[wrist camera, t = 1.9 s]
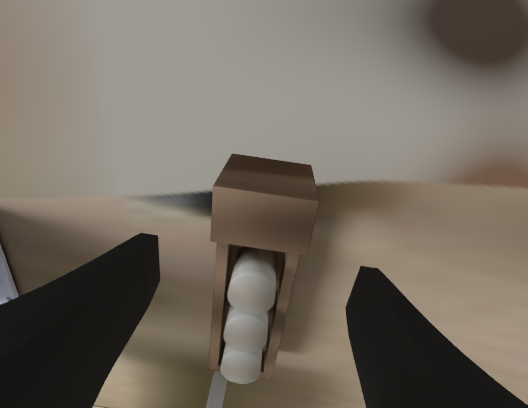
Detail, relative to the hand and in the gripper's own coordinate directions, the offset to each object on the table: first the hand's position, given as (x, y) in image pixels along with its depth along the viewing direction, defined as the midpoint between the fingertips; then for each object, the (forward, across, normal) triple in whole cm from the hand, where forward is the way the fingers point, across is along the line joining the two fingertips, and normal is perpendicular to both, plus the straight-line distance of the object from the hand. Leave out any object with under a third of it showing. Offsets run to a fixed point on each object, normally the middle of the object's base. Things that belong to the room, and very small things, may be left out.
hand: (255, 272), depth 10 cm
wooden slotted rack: (+9, 0, +7) cm, 11 cm away
